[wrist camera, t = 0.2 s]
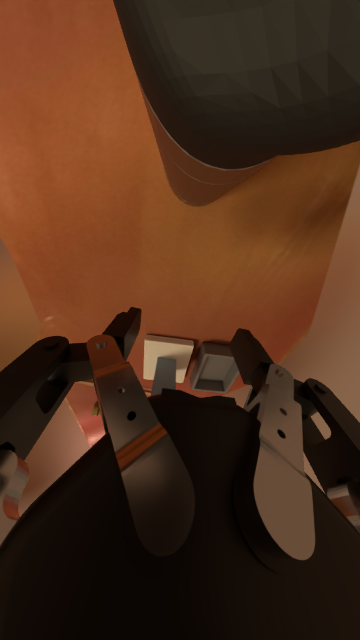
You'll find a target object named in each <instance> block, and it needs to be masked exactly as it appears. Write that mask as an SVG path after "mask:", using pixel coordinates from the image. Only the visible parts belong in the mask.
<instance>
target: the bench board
mask: <svg viewBox="0 0 360 640" xmlns="http://www.w3.org/2000/svg"><path fill="white" fill-rule="evenodd" d="M193 347H194V342H193V340H185V339H177V338H169V337H162V336H154V335H146V337H145V346H144V378H143V379H149V380H154V375H155V369H156V364H157V358H158V357H161V358H170V359H176V382H179V383H183V380H184V377H185V373H186V370H187V367H188V364H189V360H190V357H191V354H192V351H193Z"/></svg>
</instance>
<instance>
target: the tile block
mask: <svg viewBox="0 0 360 640" xmlns="http://www.w3.org/2000/svg"><path fill="white" fill-rule="evenodd" d="M162 388H167V389H174V390H175V388H176V359H170V358H161V357H158V358H157V364H156V369H155V375H154V381H153V386H152V392H151V396H153V395H156V394H161V391H162Z"/></svg>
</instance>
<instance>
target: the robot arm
mask: <svg viewBox="0 0 360 640" xmlns="http://www.w3.org/2000/svg"><path fill="white" fill-rule="evenodd" d="M113 1H114V5H115V8H116V11H117V15H118V18H119V21H120V24H121V28H122V31H123V34H124V38H125V41H126V44H127V47H128V50H129V53H130V57H131V60H132V63H133V66H134V69H135V72H136V75H137V79H138V82H139V85H140V89H141V92H142V95H143V99H144V102H145V105H146V108H147V112H148V115H149V118H150V122H151V125H152V128H153V132H154V135H155V138H156V142H157V145H158V148H159V152H160V155H161V159H162V162H163V165H164V169H165V172H166V176H167V179H168V181H169V184H170V186H171V188H172V190H173V192H174V193H175V195H176V196H177V197H178V198H179V199H180V200H181V201H183V202H184V203H186V204H188V205H191V206H204V205H207V204H209V203H211V202H213V201H214V200H216V199H217V198H219V197H220V196H222V195H223V194H224V193H226V192H227V191H229V190H230V189H232V188H233V187H234V186H236V185H237V184H239V183H240V182H242V181H243V180H244V179H246V178H247V177H249V176H250V175H252V174H253V173H254V172H256V171H257V170H259V169H260V168H261V167H263V166H264V165H266V164H267V163H268V162H270V161H271V160H273V159H274V158H275V157H277V156H278V155H294V154H305V153H312V152H318V151H323V150H327V149H332V148H336V147H340V146H343V145H346V144H349V143H352V142H356V141H359V140H360V0H113ZM140 322H141V309H139V308H134V307H131V308H130V309H129V311H128V312H127V313H126V312H122V313H120V314H118V315H117V316H116V317H115V318H114V320H113V321H112V323H110V325H109V326H108V327H107V328H106V330H105V331H104V332H103V333H102V335H97V336H94V337H92V338H91V339H89V340H88V342H86V343H72V344H69V341H68V339H67V338H65V337H62V336H51V337H47V338H44V339H41V340H39V341H38V342H36V343H35V344H34V345H32V346H31V347H30V348H29V349H27V350H26V351H25V352H24V353H23V354H21V355H20V356H19V357H18V358H16V359H15V360H14V361H13V362H12V363H10V364H9V365H8V366H7V367H5V368H4V369H3V370H2V371H1V372H0V640H360V423H359V422H358V420H357V419H356V418H355V417H354V416H353V415H352V414H351V413H350V411H349V410H348V409H347V408H346V407H345V406H344V405H343V404H342V403H341V401H340V400H339V399H338V398H337V397H336V396H335V395H334V394H333V392H332V391H331V390H330V389H329V388H328V387H326V386H325V385H324V384H322V383H321V382H319V381H317V380H315V379H311V378H309V379H307V380H306V381H305V382H304V383H303V382H300V381H298V380H296V379H294V378H293V376H292V375H291V373H290V372H289V371H288V370H286V369H285V368H283V367H282V366H280V365H277V364H274V362H273V361H272V359H271V358H270V357H269V355H268V354H267V352H266V351H265V349H264V348H263V347H262V345H261V344H260V342H259V341H258V340H257V339H255V338H254V337H253V335H252V334H251V332H250V331H249V330H246V329H241V328H239V329H238V330H237V331H236V333H235V335H234V337H233V339H232V341H231V343H230V350H231V353H232V355H233V358H234V360H235V363H236V365H237V368H238V370H239V372H240V375H241V377H242V380H243V382H244V384H247V385H252V388H251V389H250V392H249V394H248V397H247V400H246V403H245V405H244V408H241V407H240V406H238V405H236V401H235V398H230V397H223V396H212V397H205V398H198V397H196V396H193V395H191V394H188V393H186V392H183V391H181V390H174V389H167V388H162V391H161V394H156V395H153V396H150V397H148V398H147V396H146V394H145V392H144V390H143V388H142V386H141V384H140V382H139V380H138V378H137V376H136V374H135V372H134V370H133V368H132V366H131V364H130V363H129V362H126V360H127V358H128V355H129V353H130V351H131V349H132V346H133V344H134V342H135V340H136V337H137V335H138V333H139V330H140ZM92 379H93V383H94V387H95V391H96V395H97V400H98V404H99V408H100V413H101V417H102V422H103V426H104V430H105V435H104V436H103V437H102V438H101V439H100V440H99V441H98V442H97V443H96V444H95V445H93V446H92V447H91V448H90V449H89V450H88V451H87V452H86V453H85V454H84V455H83V456H82V457H81V458H80V459H79V460H77V461H76V462H75V463H74V464H73V465H72V466H71V467H70V468H69V469H68V470H67V471H66V472H65V473H64V474H62V475H61V477H59V478H58V479H57V480H56V481H55V482H54V483H53V484H52V485H51V486H50V487H49V488H48V489H46V490H45V491H44V492H43V493H42V494H41V495H40V496H39V497H38V498H37V499H36V500H35V501H34V502H33V503H32V504H31V505H30V506H29V507H28V509H27V510H26V511H25V512H24V513H23V514H22V516H21V517H20V516H19V512H18V505H19V500H20V496H21V494H22V492H23V489H24V487H25V485H26V483H27V480H28V476H29V467H28V465H27V463H26V462H25V461H24V460H25V459H26V457H27V455H28V454H29V452H30V451H31V449H32V448H33V446H34V445H35V443H36V441H37V440H38V438H39V437H40V435H41V434H42V432H43V431H44V429H45V427H46V426H47V424H48V423H49V421H50V420H51V418H52V417H53V415H54V413H55V412H56V411H57V409H58V407H59V406H60V404H61V403H62V401H63V400H64V398H65V397H66V395H67V393H68V392H69V390H70V389H71V387H72V386H73V384H74V383H75V382H78V381H85V380H92ZM316 412H319V413H320V415H321V416H322V417H323V419H324V420H325V422H326V423H327V425H328V426H329V428H330V430H331V437H330V438H328V439H326V440H325V439H324V437H323V436H322V434H321V433H320V431H319V429H318V428H317V426H316V425H315V423H314V422H313V420H312V419H311V416H312V415H313V414H315V413H316ZM303 451H304V453H305V455H306V457H307V459H308V461H309V463H310V465H311V467H312V469H313V471H314V473H315V475H316V476H317V479H318V481H319V482H320V484H321V486H322V488H323V490H324V492H325V494H326V495H325V494H324V492H323V491H322V490H321V489H320V488H319V487H318V486H317V485H316V484H315V483H314V482H313V481H312V479H311V478H310V477H309V476H308V475H307V474H306V473H305V472H304V461H303Z"/></svg>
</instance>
